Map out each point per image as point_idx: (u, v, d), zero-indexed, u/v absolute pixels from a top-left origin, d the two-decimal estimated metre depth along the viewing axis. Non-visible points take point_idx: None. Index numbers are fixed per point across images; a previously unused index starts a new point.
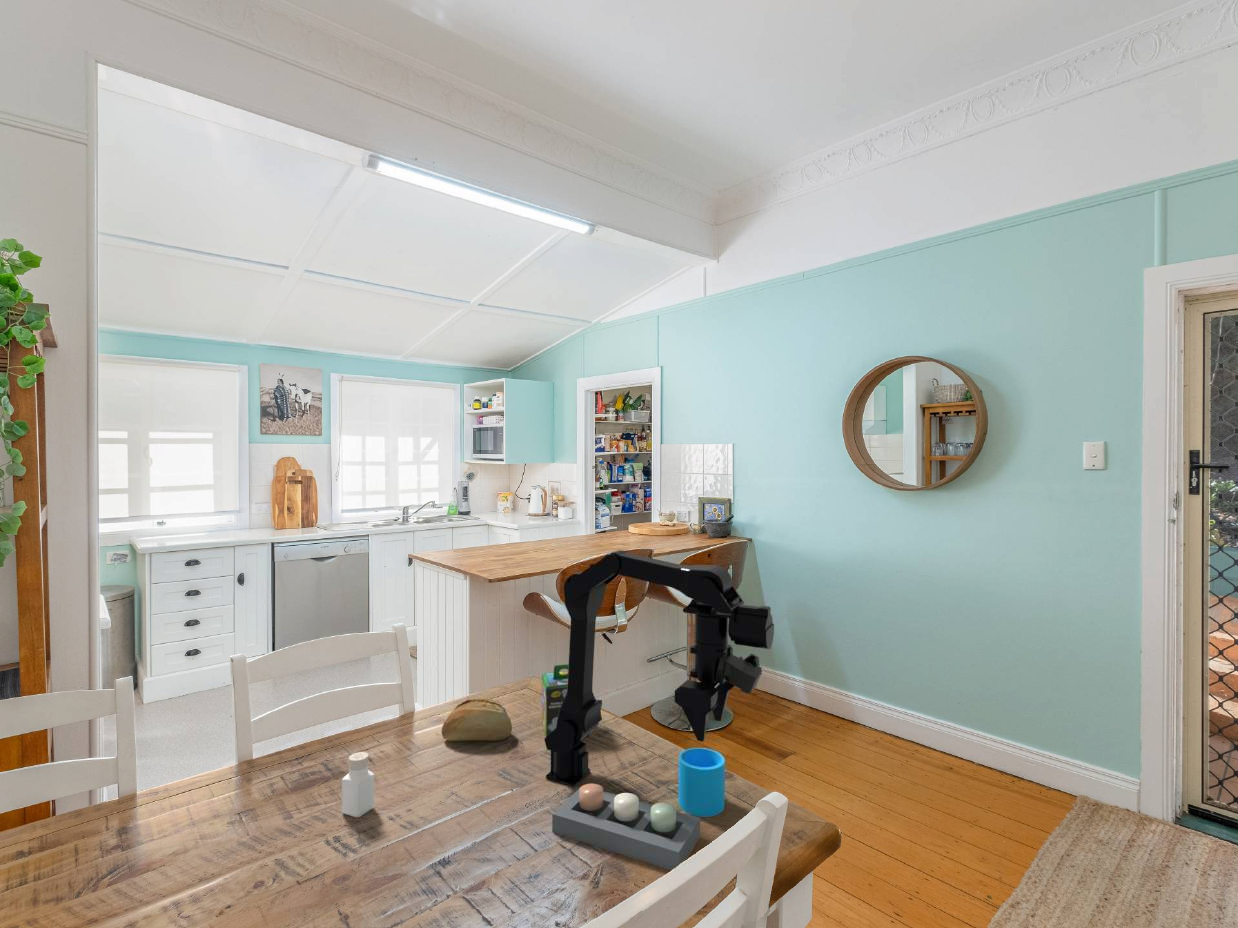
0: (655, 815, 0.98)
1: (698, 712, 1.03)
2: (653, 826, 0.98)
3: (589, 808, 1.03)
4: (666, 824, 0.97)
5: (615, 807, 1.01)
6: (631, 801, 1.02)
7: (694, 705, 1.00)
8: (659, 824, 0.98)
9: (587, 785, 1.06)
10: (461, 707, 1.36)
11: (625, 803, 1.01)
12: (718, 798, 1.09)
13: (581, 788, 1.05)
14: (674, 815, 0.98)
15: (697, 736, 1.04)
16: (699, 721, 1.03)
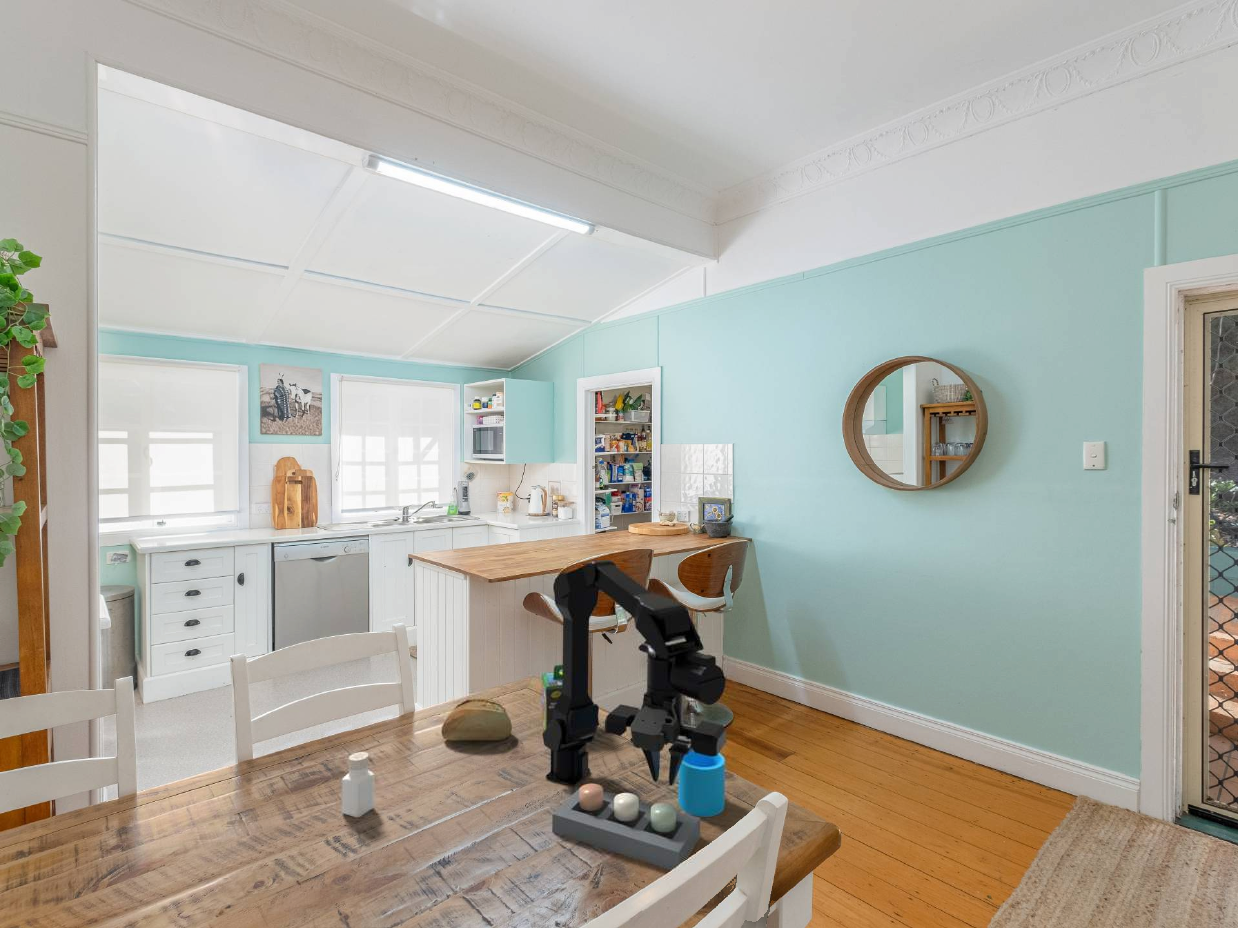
0: (655, 815, 0.98)
1: None
2: (653, 826, 0.98)
3: (589, 808, 1.03)
4: (666, 824, 0.97)
5: (615, 807, 1.01)
6: (631, 801, 1.02)
7: None
8: (659, 824, 0.98)
9: (587, 785, 1.06)
10: (461, 707, 1.36)
11: (625, 803, 1.01)
12: (718, 798, 1.09)
13: (581, 788, 1.05)
14: (674, 815, 0.98)
15: None
16: None
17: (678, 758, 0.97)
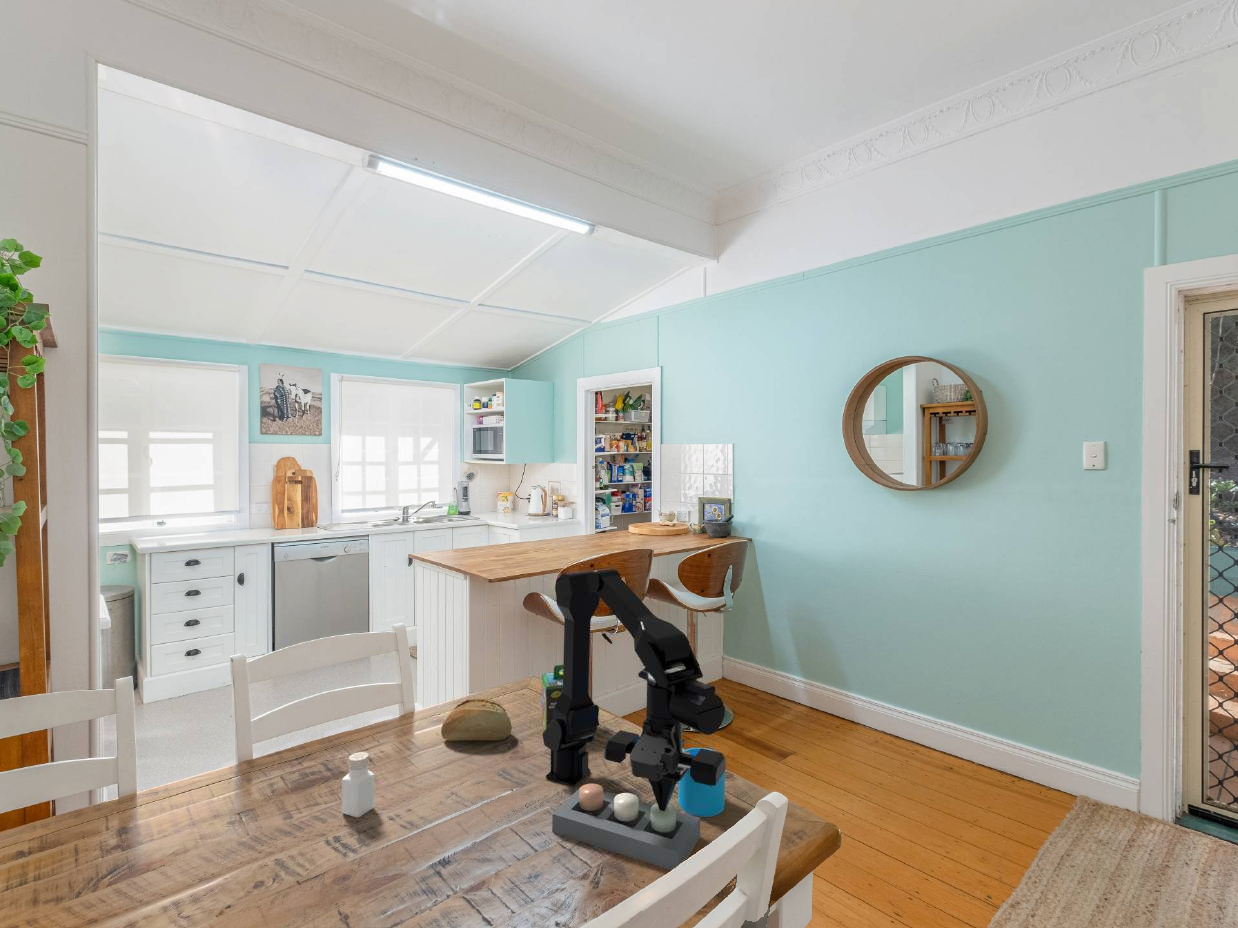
0: (655, 815, 0.98)
1: None
2: (653, 826, 0.98)
3: (589, 808, 1.03)
4: (666, 824, 0.97)
5: (615, 807, 1.01)
6: (631, 801, 1.02)
7: None
8: (659, 824, 0.98)
9: (587, 785, 1.06)
10: (461, 707, 1.36)
11: (625, 803, 1.01)
12: (718, 798, 1.09)
13: (581, 788, 1.05)
14: (674, 815, 0.98)
15: None
16: None
17: (671, 784, 0.97)
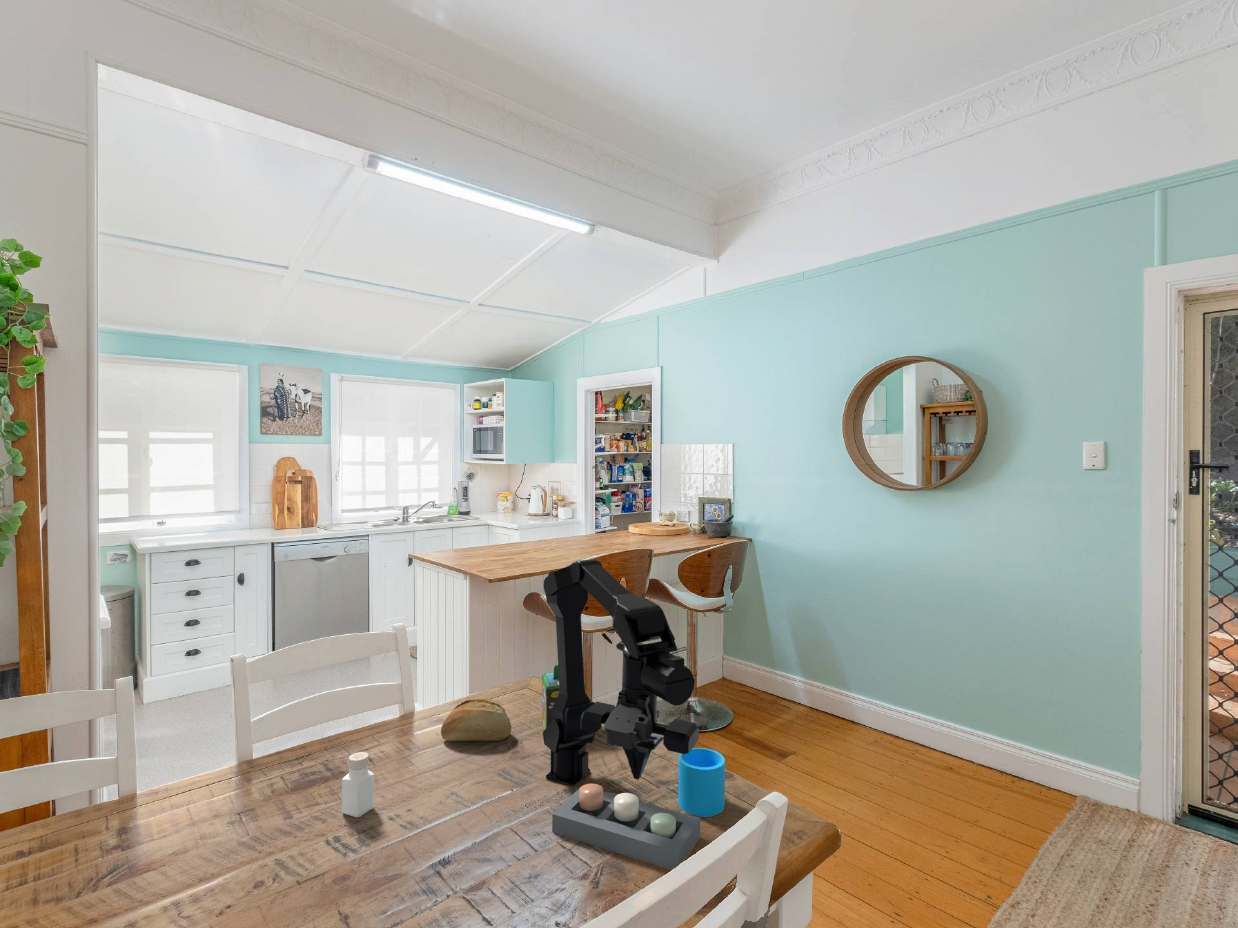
0: (655, 826, 0.98)
1: None
2: None
3: (589, 808, 1.03)
4: (666, 834, 0.97)
5: (615, 807, 1.01)
6: (631, 801, 1.02)
7: None
8: (659, 834, 0.98)
9: (587, 785, 1.06)
10: (460, 707, 1.35)
11: (625, 803, 1.01)
12: (718, 798, 1.09)
13: (581, 788, 1.05)
14: (674, 825, 0.98)
15: None
16: None
17: (645, 753, 0.99)
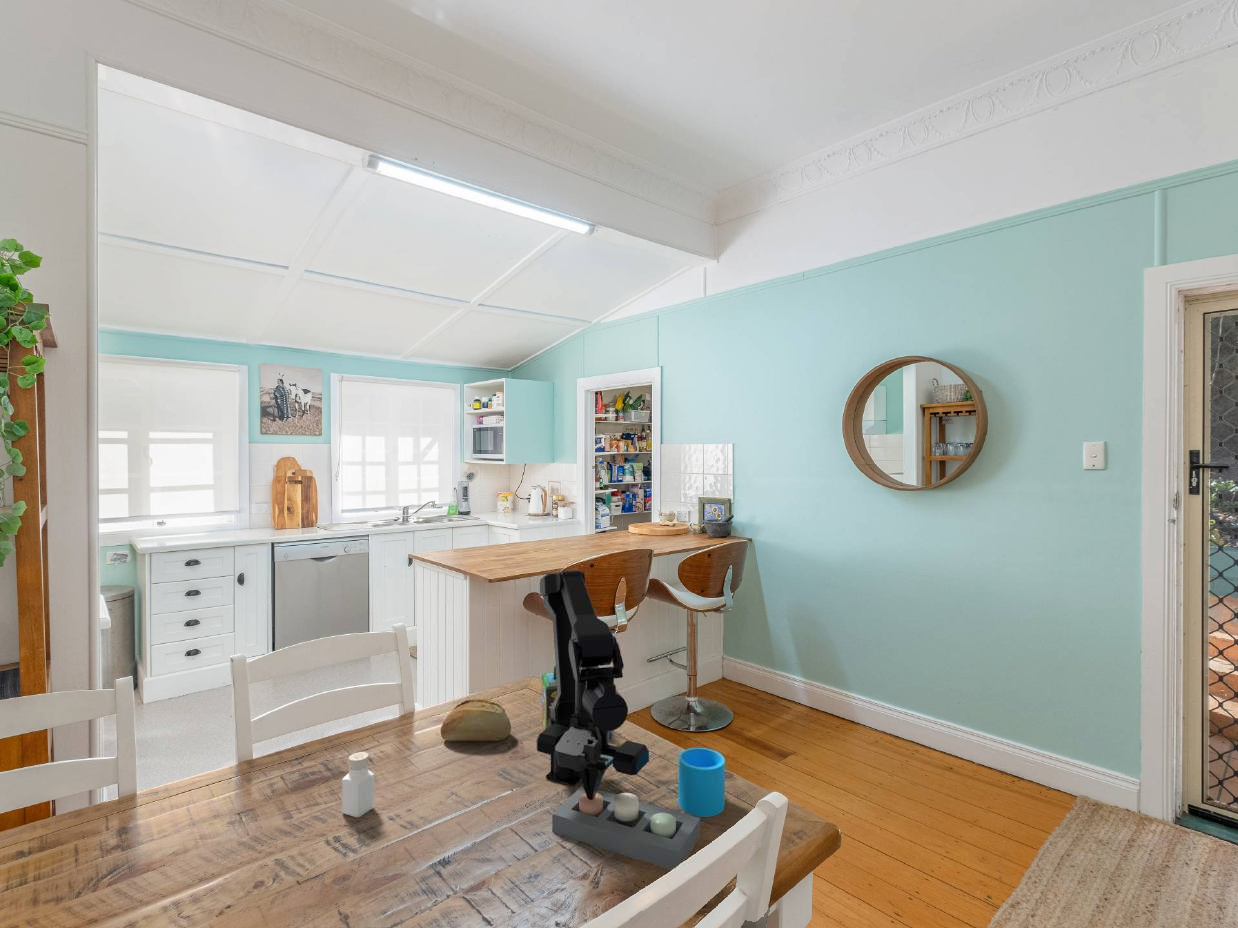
0: (655, 826, 0.98)
1: None
2: None
3: None
4: (666, 834, 0.97)
5: (615, 807, 1.01)
6: (631, 801, 1.02)
7: None
8: (659, 834, 0.98)
9: None
10: (460, 707, 1.35)
11: (625, 803, 1.01)
12: (718, 798, 1.09)
13: (581, 797, 1.05)
14: (674, 825, 0.98)
15: None
16: None
17: (597, 774, 1.03)
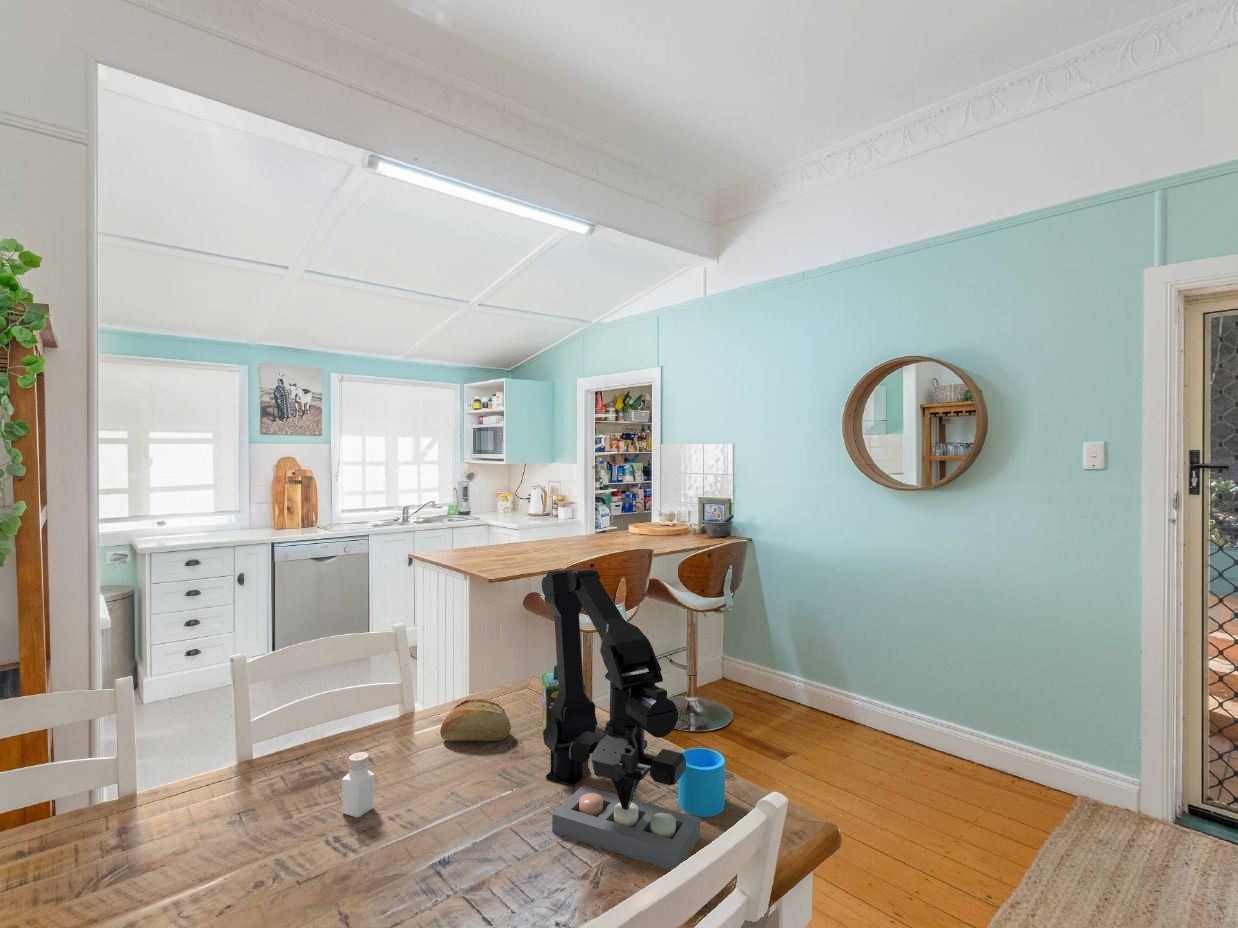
0: (655, 826, 0.98)
1: None
2: None
3: None
4: (666, 834, 0.97)
5: (615, 816, 1.01)
6: (631, 810, 1.02)
7: None
8: (659, 834, 0.98)
9: (587, 795, 1.06)
10: (460, 707, 1.35)
11: (625, 812, 1.01)
12: (718, 798, 1.09)
13: (581, 798, 1.05)
14: (674, 825, 0.98)
15: None
16: None
17: (632, 784, 1.00)
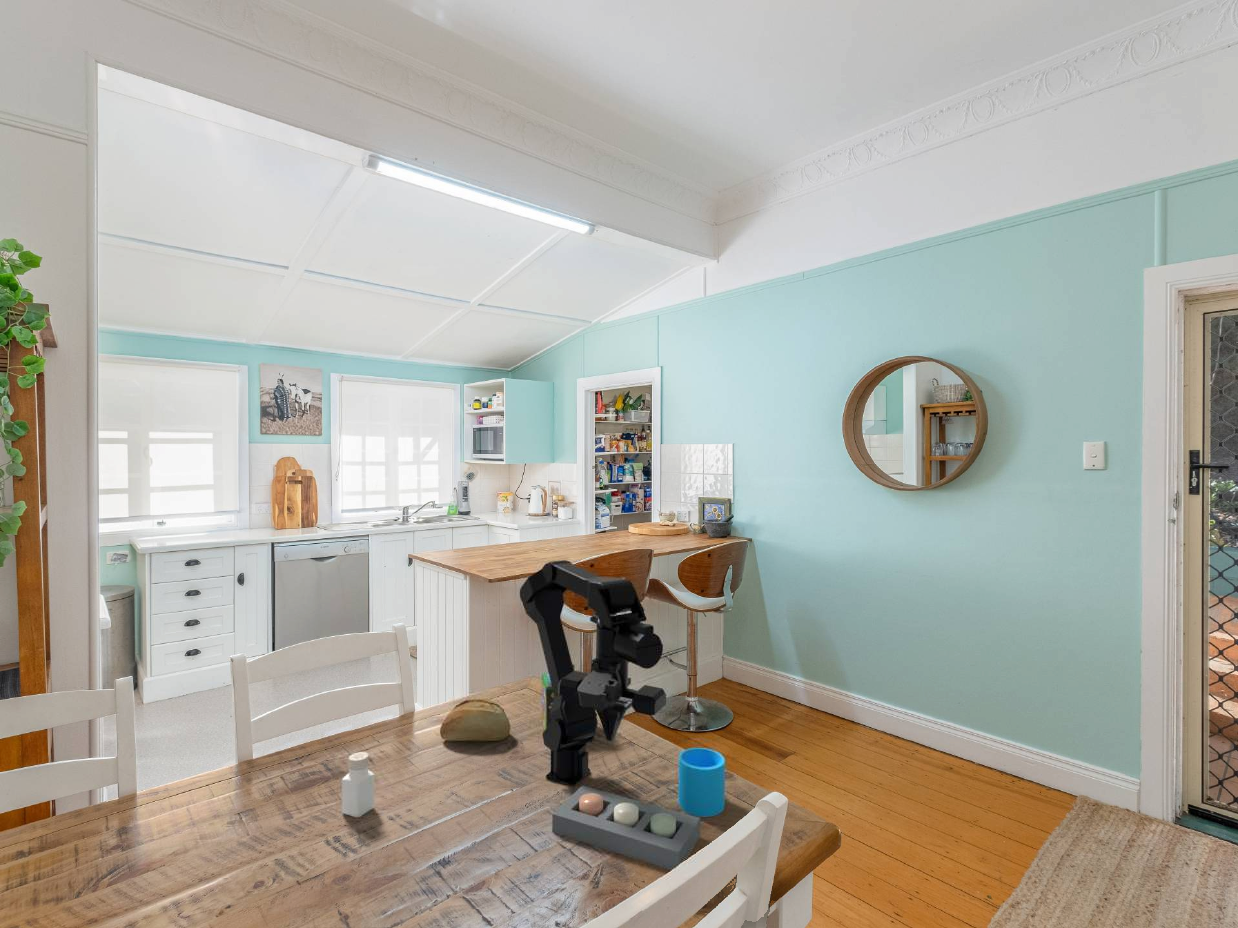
0: (655, 826, 0.98)
1: None
2: None
3: None
4: (666, 834, 0.97)
5: (615, 817, 1.01)
6: (631, 811, 1.02)
7: None
8: (659, 834, 0.98)
9: (587, 795, 1.06)
10: (459, 707, 1.35)
11: (625, 813, 1.01)
12: (718, 798, 1.09)
13: (581, 798, 1.05)
14: (674, 825, 0.98)
15: None
16: None
17: (616, 716, 1.08)
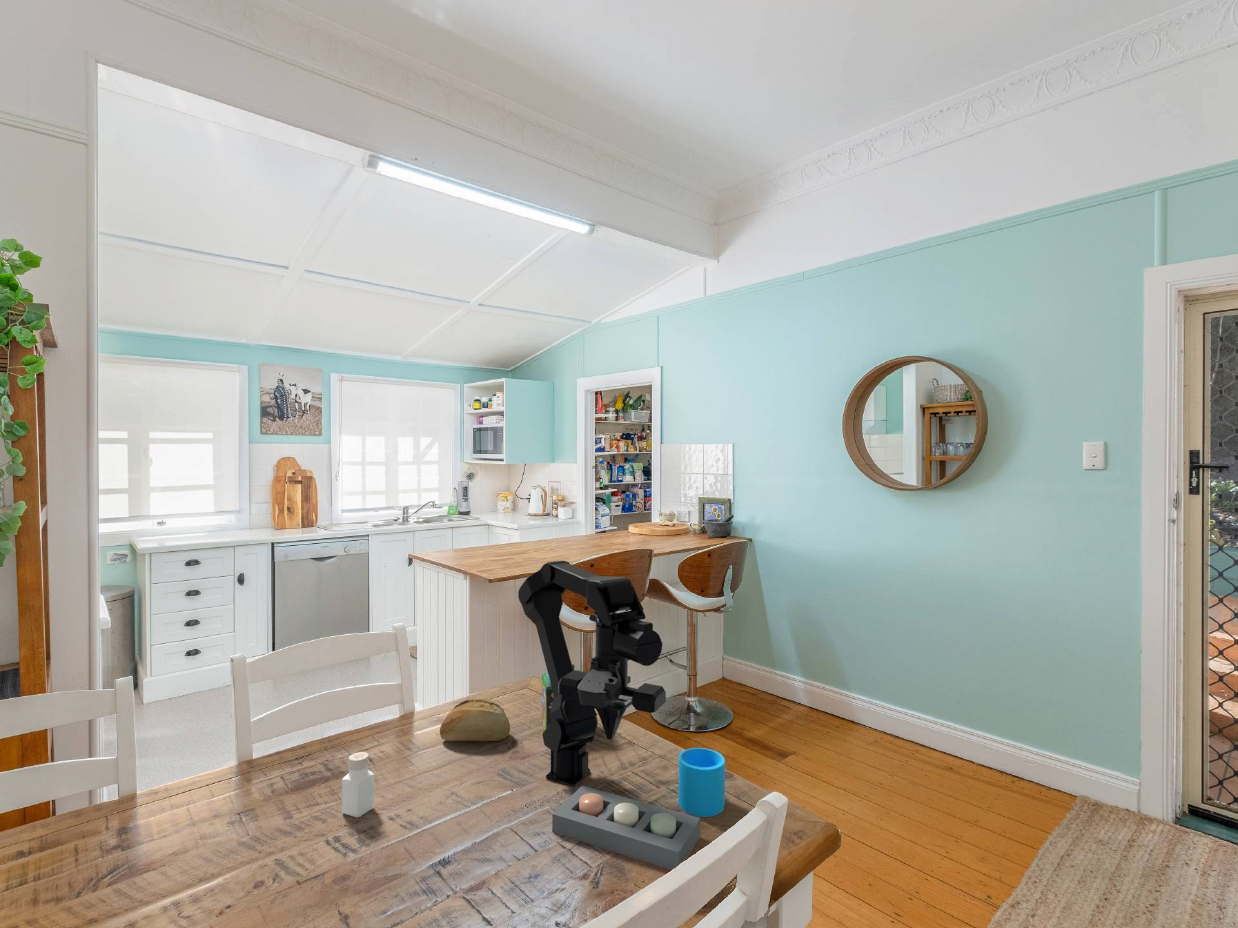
0: (655, 826, 0.98)
1: None
2: None
3: None
4: (666, 834, 0.97)
5: (615, 817, 1.01)
6: (631, 811, 1.02)
7: None
8: (659, 834, 0.98)
9: (587, 795, 1.06)
10: (459, 707, 1.35)
11: (625, 813, 1.01)
12: (718, 798, 1.09)
13: (581, 798, 1.05)
14: (674, 825, 0.98)
15: None
16: None
17: (616, 714, 1.08)
